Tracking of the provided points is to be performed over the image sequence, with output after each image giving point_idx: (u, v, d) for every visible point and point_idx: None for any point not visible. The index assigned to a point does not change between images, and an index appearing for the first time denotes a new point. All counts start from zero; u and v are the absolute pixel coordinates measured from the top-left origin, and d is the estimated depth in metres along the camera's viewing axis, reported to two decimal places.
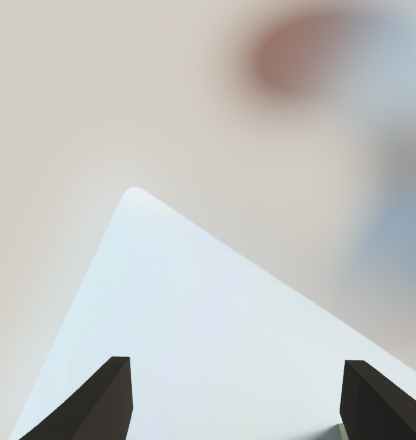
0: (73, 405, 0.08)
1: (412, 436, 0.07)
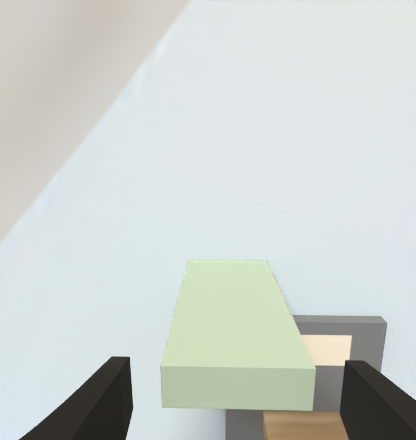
0: (73, 405, 0.08)
1: (411, 436, 0.07)
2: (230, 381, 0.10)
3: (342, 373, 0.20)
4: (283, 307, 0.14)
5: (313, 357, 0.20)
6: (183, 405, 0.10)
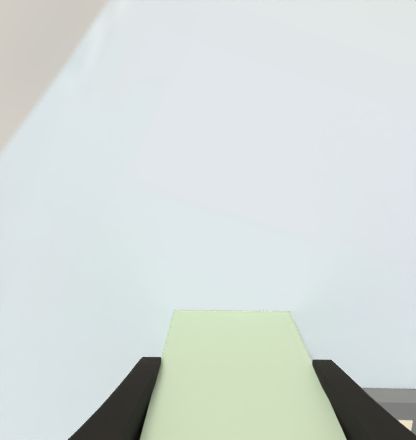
0: (114, 406, 0.08)
1: (364, 435, 0.07)
2: None
3: None
4: (336, 438, 0.08)
5: None
6: None
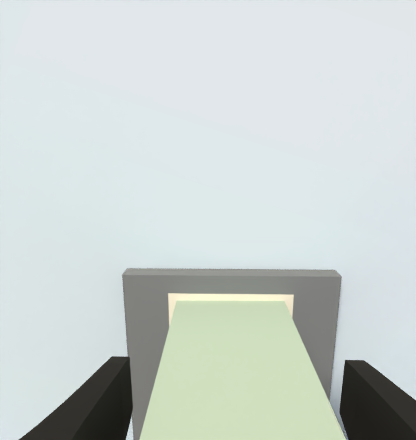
0: (73, 405, 0.08)
1: (412, 435, 0.07)
2: None
3: None
4: (323, 406, 0.09)
5: None
6: None
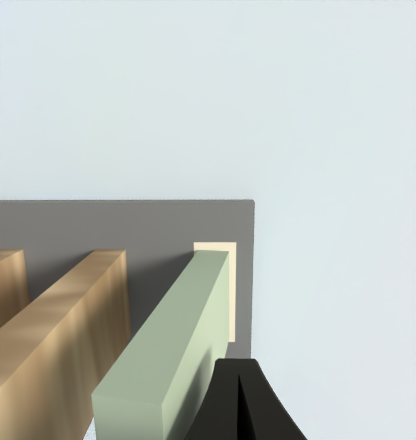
0: (215, 408, 0.08)
1: (253, 432, 0.07)
2: None
3: None
4: None
5: None
6: (98, 422, 0.07)
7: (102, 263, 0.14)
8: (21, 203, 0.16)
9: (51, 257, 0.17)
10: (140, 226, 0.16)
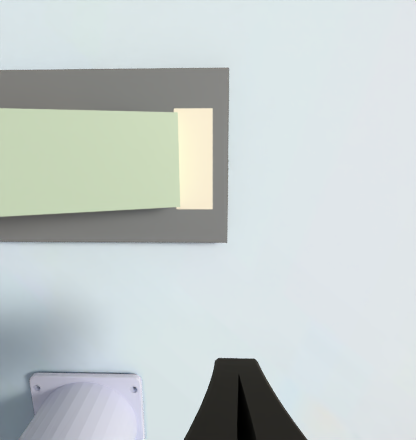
0: (215, 408, 0.08)
1: (253, 432, 0.07)
2: None
3: None
4: (61, 209, 0.16)
5: (183, 171, 0.18)
6: None
7: None
8: (15, 70, 0.17)
9: None
10: (124, 92, 0.18)
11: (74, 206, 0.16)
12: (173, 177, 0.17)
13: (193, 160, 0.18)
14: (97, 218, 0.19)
